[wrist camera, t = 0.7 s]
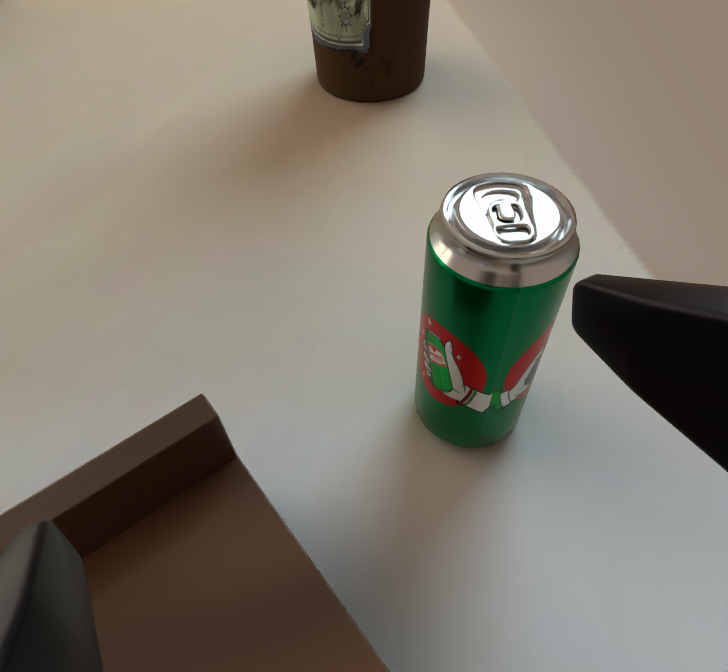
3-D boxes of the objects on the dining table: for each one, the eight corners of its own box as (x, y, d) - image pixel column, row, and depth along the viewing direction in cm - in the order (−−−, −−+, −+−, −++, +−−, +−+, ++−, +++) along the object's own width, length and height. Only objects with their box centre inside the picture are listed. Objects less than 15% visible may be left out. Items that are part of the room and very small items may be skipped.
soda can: (505, 361, 28) (562, 160, 19) (529, 449, 25) (613, 259, 16) (408, 368, 28) (419, 170, 19) (421, 457, 25) (441, 272, 16)
